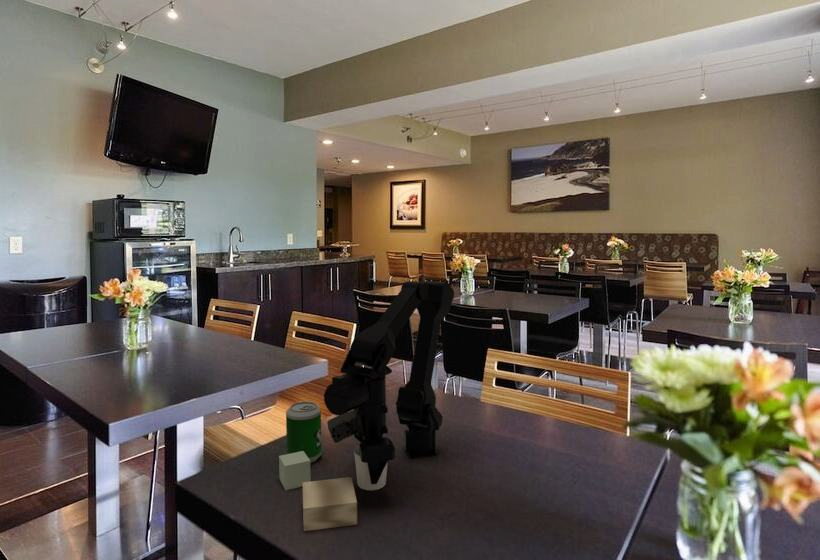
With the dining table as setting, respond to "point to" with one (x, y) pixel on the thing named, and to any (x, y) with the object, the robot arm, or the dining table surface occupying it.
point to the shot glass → (367, 474)
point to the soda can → (304, 429)
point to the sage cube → (294, 470)
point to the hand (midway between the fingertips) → (371, 475)
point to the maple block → (329, 504)
